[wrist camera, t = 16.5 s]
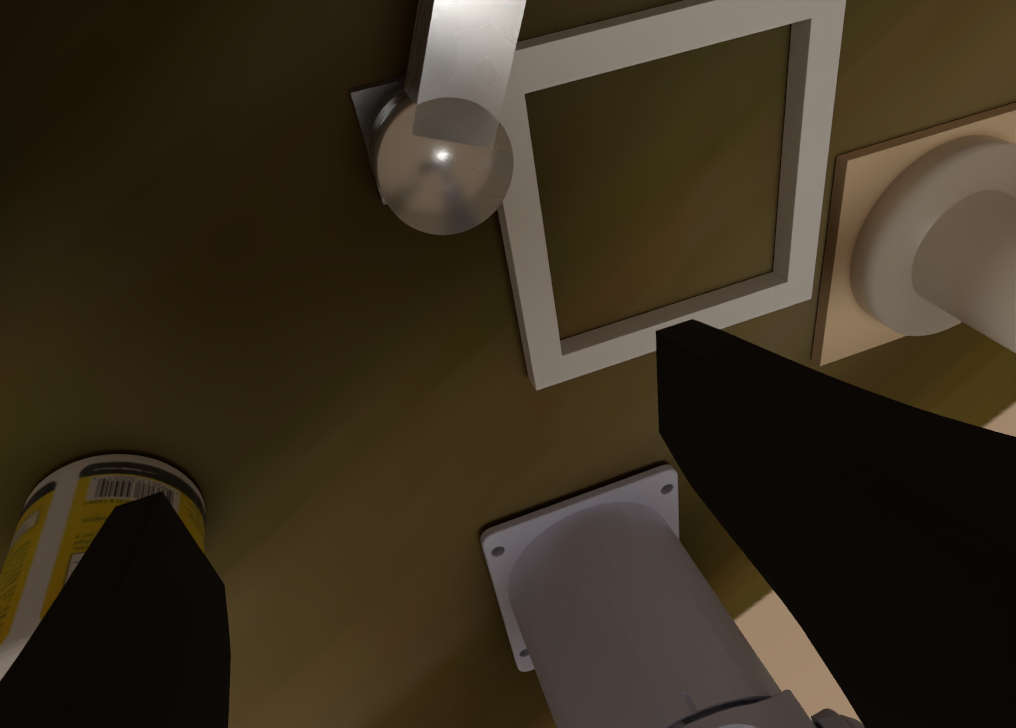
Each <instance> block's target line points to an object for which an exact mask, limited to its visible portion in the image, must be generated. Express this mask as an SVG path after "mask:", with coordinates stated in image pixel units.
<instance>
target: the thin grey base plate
mask: <svg viewBox="0 0 1016 728" xmlns="http://www.w3.org/2000/svg"><path fill="white" fill-rule="evenodd" d="M405 82H406V75H403V76H399V77H395V78H391V79H387V80H383V81H379V82H375V83H371V84H367V85H363V86H359V87H355V88H351V89H349V91H350V95H351V98H352V102H353V105H354V109H355V112H356V116H357V119H358V122H359V126H360V129H361V133H362V136H363V140H364V143H365V147H366V150H367V153H368V157H369V139H370V134H371V130H372V127H373V124H374V122H375V120H376V118H377V116H378V115H379V113H380V112H381V110H382V109H383V107H384V106H385V105H386V104H387V103H388V102H389V101H390V100H391V99H392V98H393V97H395V96H396V95H397V94H399V93H400V92H402V91H404V88H405ZM374 178H375V177H374ZM375 181H376V179H375ZM376 184H377V188H378V191H379V195H380V198H381V201H382V203H383V205H385V204H387V202H386V200H385V198H384V196H383V194H382V192H381V190H380V188H379V186H378V183H377V181H376Z"/></svg>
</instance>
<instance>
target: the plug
mask: <svg viewBox="0 0 1016 728" xmlns="http://www.w3.org/2000/svg"><path fill="white" fill-rule="evenodd" d="M850 284H851V289H852V293H853V296H854V298H855V300H856V302H857V304H858V305H859V306H860V307H861V308H862V309H863V310H864V311H865V312H866V313H868V314H869V315H871V316H872V317H874V318H875V319H877V320H878V321H880V322H881V323H883V324H884V325H886V326H887V327H889V328H890V329H892V330H893V331H895V332H897V333H900V334H903V335H908V336H923V335H929V334H934V333H938V332H940V331H943V330H946V329H949V328H951V327H953V326H955V325H957V324H959V323H961V322H964V323H965V324H967V325H969V326H970V327H972V328H974V329H975V330H977V331H979V332H981V333H982V334H984V335H986V336H987V337H989V338H991V339H992V340H994V341H996V342H998V343H999V344H1001V345H1003V346H1004V347H1006V348H1008V349H1009V350H1011V351H1013V352H1014V353H1016V144H1014V143H1011V142H1008V141H1004V140H1001V139H998V138H995V137H991V136H986V135H970V136H964V137H960V138H957V139H953V140H951V141H948V142H946V143H944V144H941V145H939V146H937V147H936V148H934V149H932V150H930V151H929V152H927V153H926V154H924V155H923V156H921V157H920V158H918V159H917V160H916V161H914V162H913V163H912V164H911V165H910V166H908V167H907V168H906V169H905V170H904V171H903V172H902V173H901V174H900V175H899V176H898V177H897V178H896V179H895V180H894V181H893V182H892V183H891V184H890V185H889V187H888V188H887V189H886V190H885V191H884V192H883V194H882V195H881V196H880V198H879V199H878V201H877V202H876V203H875V205H874V206H873V208H872V210H871V211H870V213H869V214H868V216H867V218H866V220H865V222H864V224H863V226H862V228H861V230H860V232H859V235H858V237H857V240H856V243H855V246H854V250H853V253H852V258H851V264H850Z"/></svg>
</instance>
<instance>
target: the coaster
mask: <svg viewBox="0 0 1016 728" xmlns="http://www.w3.org/2000/svg"><path fill="white" fill-rule="evenodd" d="M970 135H986V136H991V137H995V138H998V139H1001V140H1004V141H1008V142H1011V143H1014V144H1016V102H1015V103H1012V104H1008V105H1005V106H1002V107H998V108H995V109H992V110H989V111H985V112H982V113H979V114H975V115H972V116H969V117H965V118H962V119H959V120H955V121H952V122H949V123H945V124H942V125H939V126H935V127H932V128H929V129H925V130H922V131H919V132H915V133H912V134H909V135H905V136H902V137H899V138H895V139H892V140H889V141H885V142H882V143H879V144H875V145H872V146H869V147H865V148H862V149H859V150H855V151H852V152H849V153H845V154H842V155H839V156H837V158H836V166H835V174H834V182H833V190H832V198H831V206H830V214H829V222H828V230H827V238H826V246H825V254H824V262H823V270H822V278H821V286H820V295H819V303H818V311H817V319H816V327H815V335H814V343H813V351H812V360H813V361H814V362H816V363H817V364H818V365H819V366H822V365H825V364H828V363H830V362H833V361H836V360H839V359H842V358H845V357H847V356H850V355H853V354H856V353H859V352H862V351H864V350H867V349H870V348H873V347H876V346H879V345H882V344H884V343H887V342H890V341H893V340H896V339H899V338H901V337H904V336H907V335H903V334H900V333H897V332H895V331H893V330H892V329H890V328H889V327H887V326H886V325H884V324H883V323H881V322H880V321H878V320H877V319H875V318H874V317H872V316H871V315H869V314H868V313H866V312H865V311H864V310H863V309H862V308H861V307H860V306H859V305H858V304H857V302H856V300H855V298H854V296H853V293H852V289H851V284H850V264H851V258H852V253H853V250H854V246H855V243H856V240H857V237H858V235H859V232H860V230H861V228H862V226H863V224H864V222H865V220H866V218H867V216H868V214H869V213H870V211H871V210H872V208H873V206H874V205H875V203H876V202H877V201H878V199H879V198H880V196H881V195H882V194H883V192H884V191H885V190H886V189H887V188H888V187H889V185H890V184H891V183H892V182H893V181H894V180H895V179H896V178H897V177H898V176H899V175H900V174H901V173H902V172H903V171H904V170H905V169H906V168H907V167H908V166H910V165H911V164H912V163H913V162H914V161H916V160H917V159H918V158H920V157H921V156H923V155H924V154H926V153H927V152H929V151H930V150H932V149H934V148H936V147H937V146H939V145H941V144H944V143H946V142H948V141H951V140H953V139H957V138H960V137H964V136H970Z"/></svg>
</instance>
